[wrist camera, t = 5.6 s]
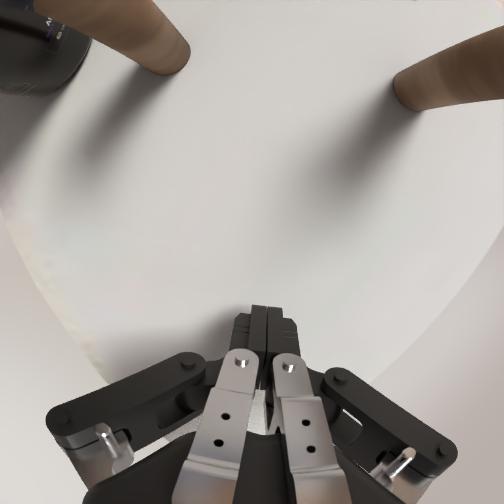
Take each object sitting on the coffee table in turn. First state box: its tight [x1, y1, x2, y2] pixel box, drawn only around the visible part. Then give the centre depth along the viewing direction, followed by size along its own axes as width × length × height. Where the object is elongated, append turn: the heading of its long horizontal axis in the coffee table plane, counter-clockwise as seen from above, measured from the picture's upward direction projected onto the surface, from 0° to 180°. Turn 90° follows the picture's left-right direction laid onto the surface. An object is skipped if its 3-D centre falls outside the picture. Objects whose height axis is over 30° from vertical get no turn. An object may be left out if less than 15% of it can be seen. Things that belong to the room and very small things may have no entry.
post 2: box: [393, 25, 504, 111], centre depth 7 cm, size 2×2×9 cm
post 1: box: [33, 0, 191, 76], centre depth 7 cm, size 2×2×9 cm
